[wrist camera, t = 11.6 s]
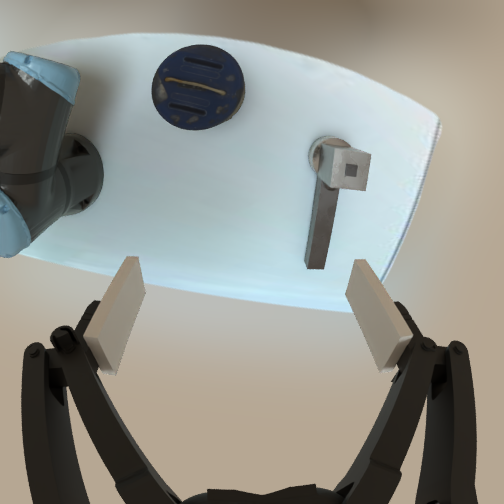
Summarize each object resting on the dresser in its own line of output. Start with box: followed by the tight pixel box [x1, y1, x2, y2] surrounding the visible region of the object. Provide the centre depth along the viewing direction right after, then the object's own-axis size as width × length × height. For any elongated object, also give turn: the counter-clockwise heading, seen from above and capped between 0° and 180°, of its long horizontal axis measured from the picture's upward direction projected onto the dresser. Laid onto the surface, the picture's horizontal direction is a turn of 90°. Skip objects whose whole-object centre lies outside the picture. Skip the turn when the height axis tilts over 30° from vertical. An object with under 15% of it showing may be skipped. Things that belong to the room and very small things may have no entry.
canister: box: [152, 45, 245, 130], centre depth 30 cm, size 10×10×18 cm
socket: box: [317, 143, 371, 191], centre depth 37 cm, size 5×5×7 cm
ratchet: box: [304, 136, 351, 269], centre depth 44 cm, size 7×24×7 cm, turn 177°
